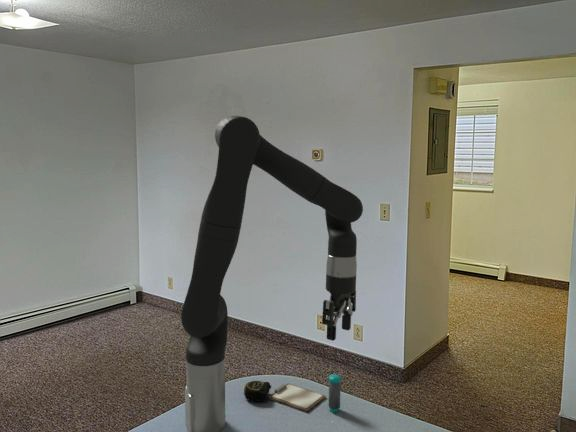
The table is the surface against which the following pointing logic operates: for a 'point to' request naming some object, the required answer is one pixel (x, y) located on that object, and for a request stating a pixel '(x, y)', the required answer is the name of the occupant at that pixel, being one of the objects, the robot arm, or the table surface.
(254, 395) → the tape measure
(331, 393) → the marker
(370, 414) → the table surface
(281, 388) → the clipboard
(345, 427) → the table surface
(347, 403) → the table surface
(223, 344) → the robot arm
